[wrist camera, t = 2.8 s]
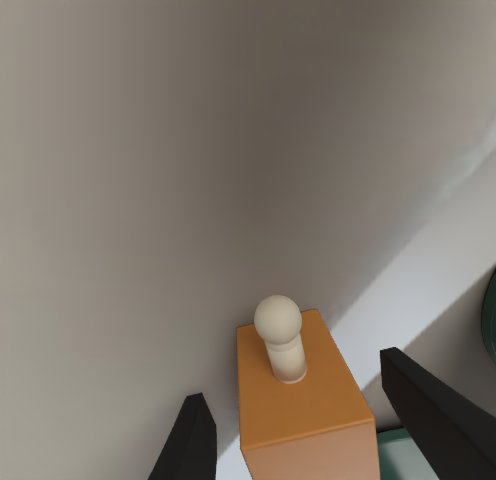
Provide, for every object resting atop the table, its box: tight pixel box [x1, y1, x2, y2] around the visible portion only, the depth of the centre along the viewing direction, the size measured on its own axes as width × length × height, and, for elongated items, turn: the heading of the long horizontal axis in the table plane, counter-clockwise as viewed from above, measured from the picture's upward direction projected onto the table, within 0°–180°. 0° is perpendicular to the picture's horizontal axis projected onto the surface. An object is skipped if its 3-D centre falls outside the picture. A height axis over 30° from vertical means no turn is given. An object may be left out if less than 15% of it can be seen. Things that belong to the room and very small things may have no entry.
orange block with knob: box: [237, 295, 380, 480], centre depth 9 cm, size 8×4×5 cm, turn 13°
